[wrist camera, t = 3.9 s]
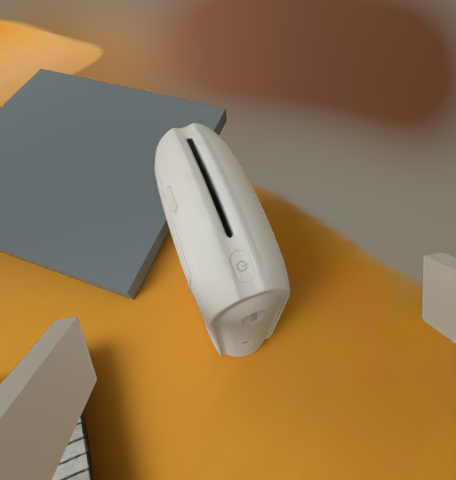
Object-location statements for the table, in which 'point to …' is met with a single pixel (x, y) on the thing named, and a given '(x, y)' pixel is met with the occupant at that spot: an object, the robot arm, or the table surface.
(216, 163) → the photo printer
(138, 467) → the table surface
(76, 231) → the slate board
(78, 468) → the mat
